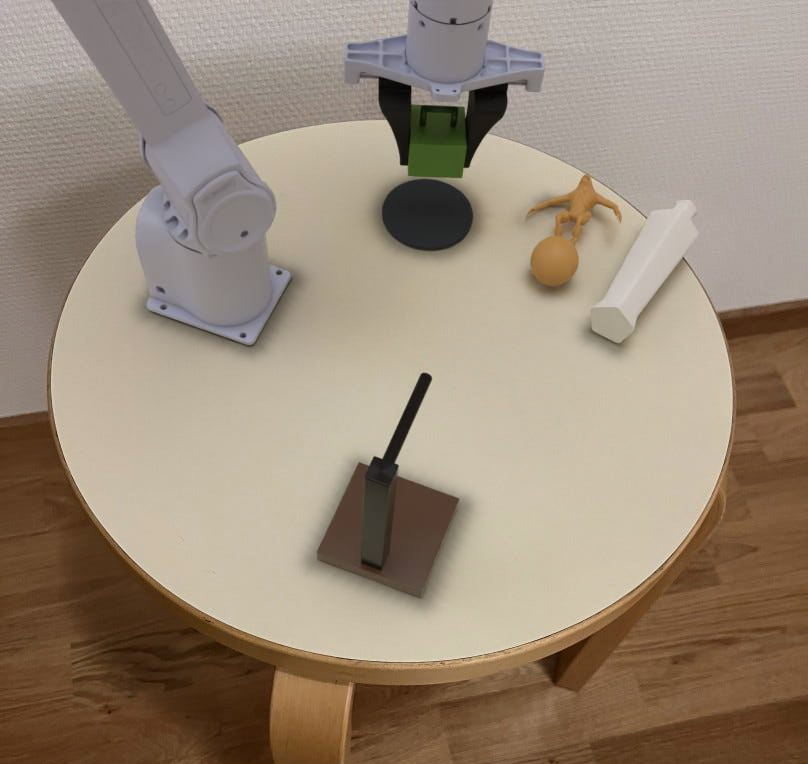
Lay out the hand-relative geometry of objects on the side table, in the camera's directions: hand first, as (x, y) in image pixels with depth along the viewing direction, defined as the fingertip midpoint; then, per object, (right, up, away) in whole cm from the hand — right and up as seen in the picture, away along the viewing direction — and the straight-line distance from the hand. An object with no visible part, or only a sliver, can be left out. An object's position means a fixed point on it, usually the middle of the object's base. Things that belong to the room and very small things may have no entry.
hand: (433, 158), depth 73 cm
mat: (0, -3, +6) cm, 6 cm away
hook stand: (-4, -31, -7) cm, 32 cm away
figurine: (+10, -10, +2) cm, 14 cm away
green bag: (0, 0, 0) cm, 0 cm away
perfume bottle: (+14, -14, -1) cm, 20 cm away
